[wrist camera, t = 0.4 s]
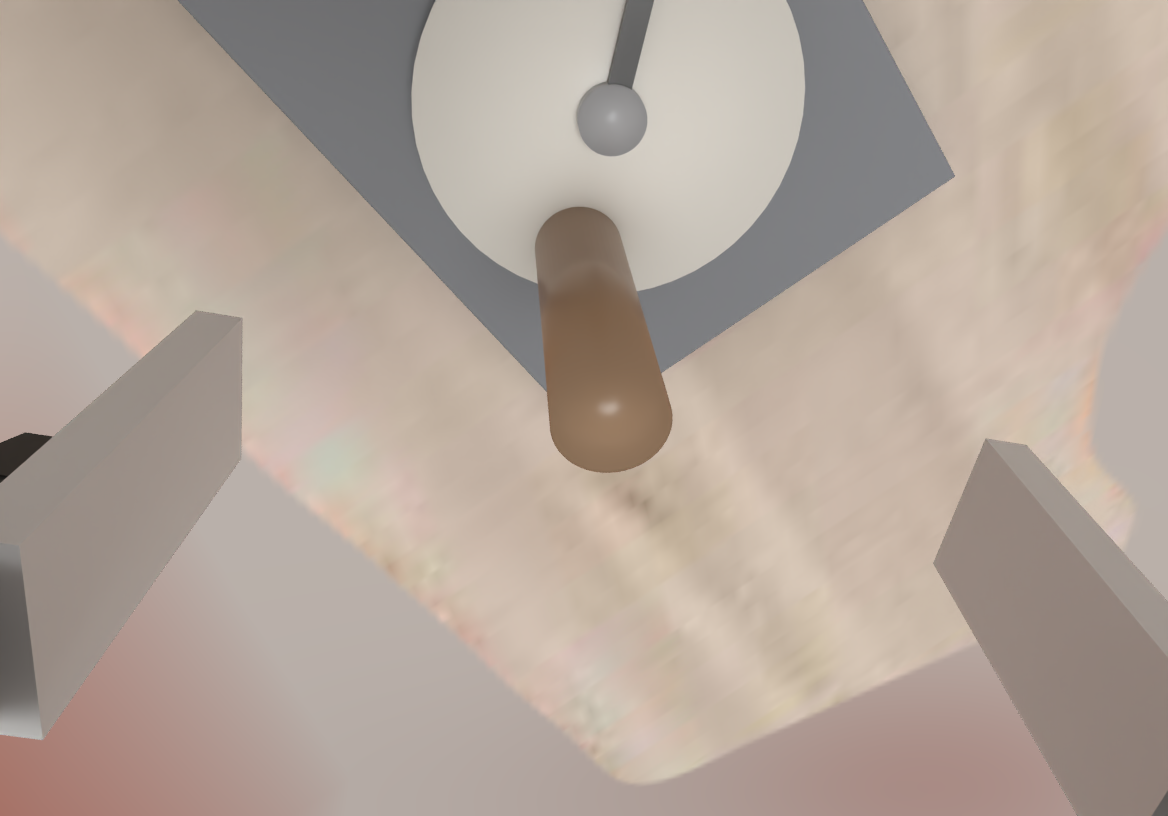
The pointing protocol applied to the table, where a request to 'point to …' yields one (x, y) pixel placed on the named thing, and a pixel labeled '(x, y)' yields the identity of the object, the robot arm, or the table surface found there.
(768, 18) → the post on round base
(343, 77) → the dial plate
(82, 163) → the table surface
